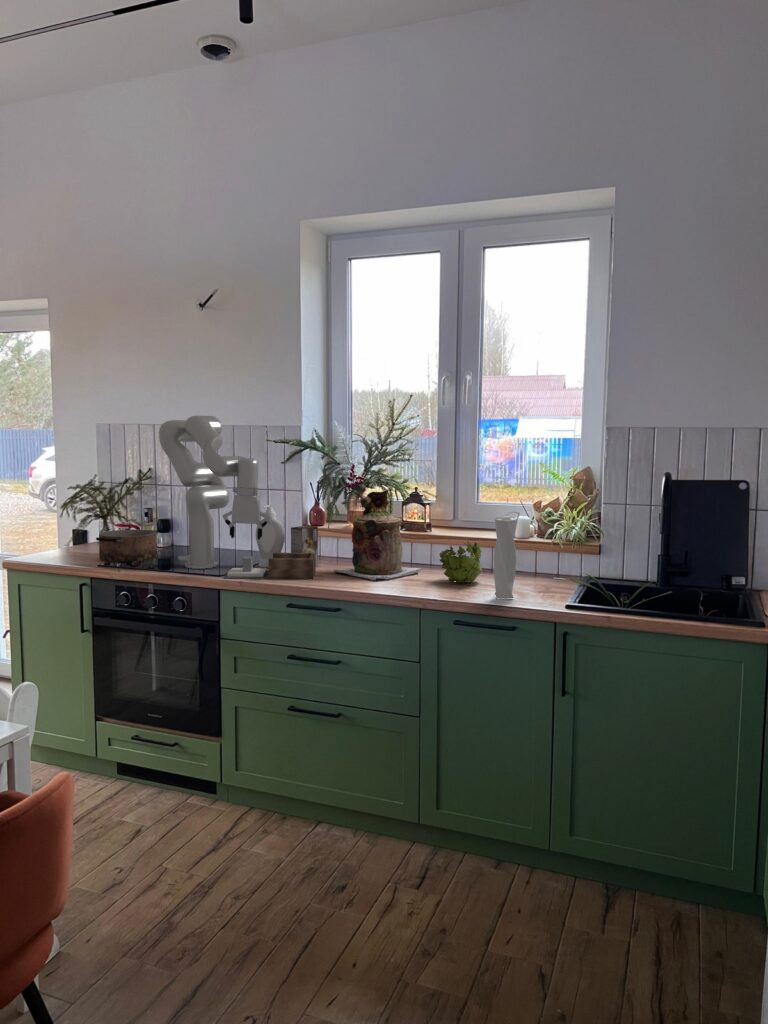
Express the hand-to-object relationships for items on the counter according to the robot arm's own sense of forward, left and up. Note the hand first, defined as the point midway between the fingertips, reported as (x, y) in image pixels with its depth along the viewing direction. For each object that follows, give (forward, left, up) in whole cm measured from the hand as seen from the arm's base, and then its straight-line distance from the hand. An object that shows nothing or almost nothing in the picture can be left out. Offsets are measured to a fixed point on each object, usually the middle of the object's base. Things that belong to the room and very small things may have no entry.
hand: (245, 538), depth 280 cm
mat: (+1, -1, -14) cm, 14 cm away
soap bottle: (+6, +16, -14) cm, 22 cm away
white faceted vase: (+89, -37, -14) cm, 97 cm away
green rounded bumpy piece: (+78, -11, -14) cm, 80 cm away
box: (+17, -1, -14) cm, 22 cm away
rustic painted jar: (+49, +4, -14) cm, 51 cm away
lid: (+1, -1, -13) cm, 13 cm away
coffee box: (+20, +16, -14) cm, 29 cm away
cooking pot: (-54, +35, -14) cm, 66 cm away
